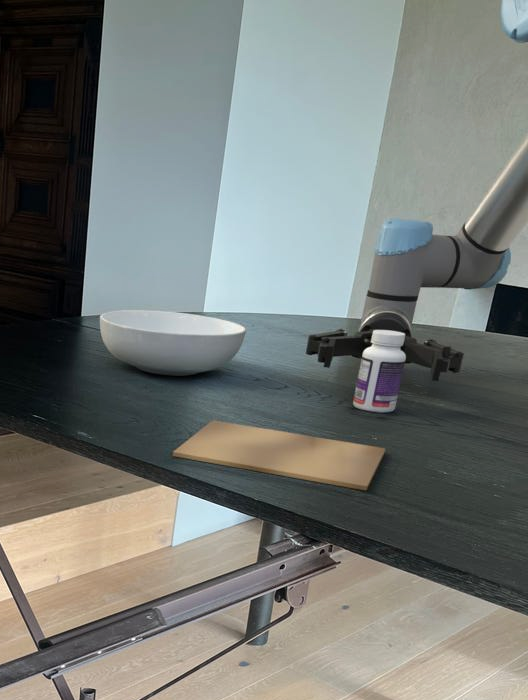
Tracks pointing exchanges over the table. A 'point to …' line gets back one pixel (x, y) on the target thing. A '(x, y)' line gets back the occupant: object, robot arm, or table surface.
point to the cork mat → (284, 454)
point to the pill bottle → (380, 372)
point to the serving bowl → (170, 340)
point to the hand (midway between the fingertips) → (382, 363)
